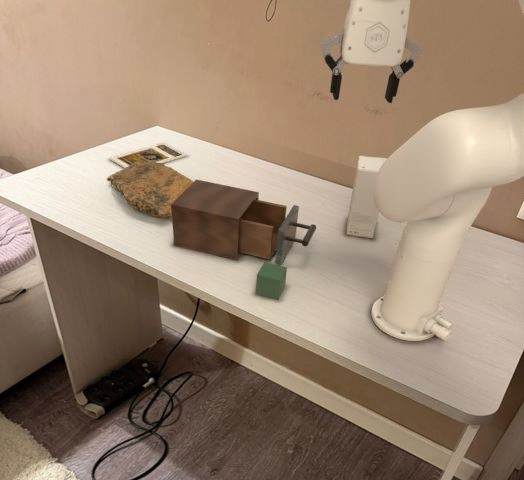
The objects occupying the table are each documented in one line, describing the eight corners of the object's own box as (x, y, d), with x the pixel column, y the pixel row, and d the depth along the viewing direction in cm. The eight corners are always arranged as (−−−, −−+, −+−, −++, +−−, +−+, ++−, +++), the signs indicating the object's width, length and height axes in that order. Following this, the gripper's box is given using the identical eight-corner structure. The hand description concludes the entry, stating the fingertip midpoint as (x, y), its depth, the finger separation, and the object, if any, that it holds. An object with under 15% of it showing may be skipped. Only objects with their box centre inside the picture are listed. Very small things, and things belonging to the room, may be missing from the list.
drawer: (315, 242, 107) (320, 210, 102) (302, 270, 99) (307, 236, 94) (238, 225, 111) (239, 193, 105) (219, 251, 103) (219, 217, 97)
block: (285, 286, 96) (287, 267, 93) (278, 299, 93) (280, 280, 90) (262, 281, 97) (264, 261, 94) (255, 294, 94) (256, 274, 91)
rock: (216, 183, 120) (165, 214, 106) (215, 203, 124) (165, 235, 110) (136, 150, 127) (78, 175, 113) (137, 170, 130) (81, 197, 117)
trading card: (109, 157, 133) (163, 142, 143) (109, 159, 134) (163, 144, 143) (131, 170, 128) (185, 154, 138) (131, 172, 129) (185, 156, 138)
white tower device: (372, 239, 111) (388, 173, 100) (343, 235, 112) (356, 168, 101) (374, 221, 117) (389, 157, 106) (346, 217, 118) (359, 153, 107)
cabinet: (256, 231, 111) (258, 192, 104) (237, 260, 102) (238, 219, 95) (197, 218, 114) (196, 179, 107) (173, 245, 105) (170, 204, 98)
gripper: (331, -19, 73) (316, 103, 85) (444, -12, 74) (413, 108, 86) (325, -26, 78) (312, 90, 90) (431, -19, 79) (404, 95, 91)
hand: (361, 99), depth 88 cm, fingers open, 9 cm apart
